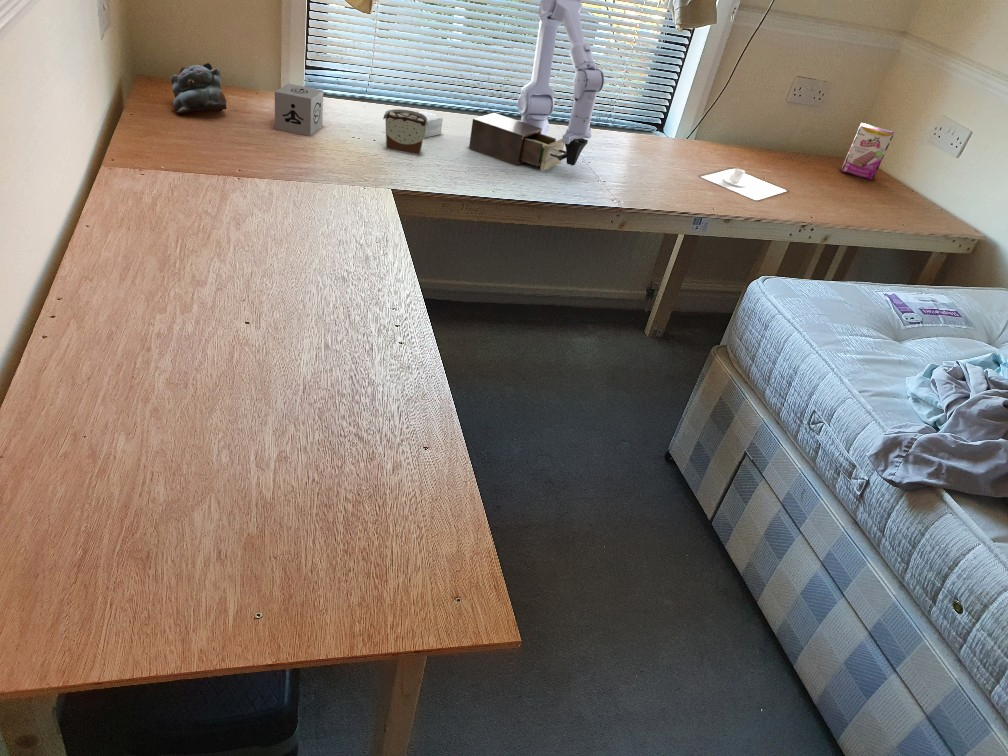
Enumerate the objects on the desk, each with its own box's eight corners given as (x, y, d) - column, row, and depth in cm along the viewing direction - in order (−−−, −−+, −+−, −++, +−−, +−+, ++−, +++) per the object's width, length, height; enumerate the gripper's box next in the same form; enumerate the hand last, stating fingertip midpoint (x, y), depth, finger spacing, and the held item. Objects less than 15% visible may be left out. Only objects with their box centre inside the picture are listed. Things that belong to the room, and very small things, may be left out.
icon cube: (288, 119, 217) (288, 83, 212) (322, 126, 217) (323, 90, 212) (274, 128, 209) (274, 91, 204) (310, 136, 209) (311, 98, 203)
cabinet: (536, 157, 225) (542, 128, 220) (517, 165, 216) (522, 135, 212) (489, 141, 231) (493, 112, 226) (468, 148, 222) (472, 118, 217)
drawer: (572, 167, 220) (577, 144, 216) (556, 175, 212) (560, 151, 208) (514, 147, 227) (518, 124, 223) (497, 154, 219) (500, 130, 215)
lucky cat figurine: (164, 114, 204) (155, 59, 202) (186, 121, 216) (178, 70, 214) (217, 107, 203) (209, 52, 201) (237, 114, 215) (228, 63, 212)
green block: (529, 152, 222) (532, 138, 219) (549, 159, 219) (552, 145, 217) (522, 155, 218) (524, 141, 216) (542, 162, 216) (545, 148, 214)
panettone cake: (428, 149, 215) (432, 114, 210) (425, 156, 210) (428, 120, 205) (385, 141, 215) (388, 105, 210) (381, 148, 210) (383, 111, 204)
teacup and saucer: (732, 176, 241) (736, 163, 239) (753, 185, 237) (758, 172, 234) (717, 180, 235) (721, 167, 233) (739, 189, 231) (744, 176, 229)
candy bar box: (840, 172, 266) (860, 125, 257) (841, 168, 270) (860, 122, 261) (873, 181, 263) (894, 133, 254) (873, 177, 267) (894, 130, 258)
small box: (421, 126, 232) (423, 109, 229) (441, 134, 229) (443, 117, 226) (404, 130, 226) (406, 113, 224) (424, 138, 223) (426, 120, 220)
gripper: (582, 124, 200) (572, 174, 207) (605, 115, 211) (594, 163, 218) (559, 116, 202) (549, 166, 210) (582, 108, 213) (572, 155, 221)
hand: (570, 164), depth 214 cm, fingers closed, pressing on drawer
